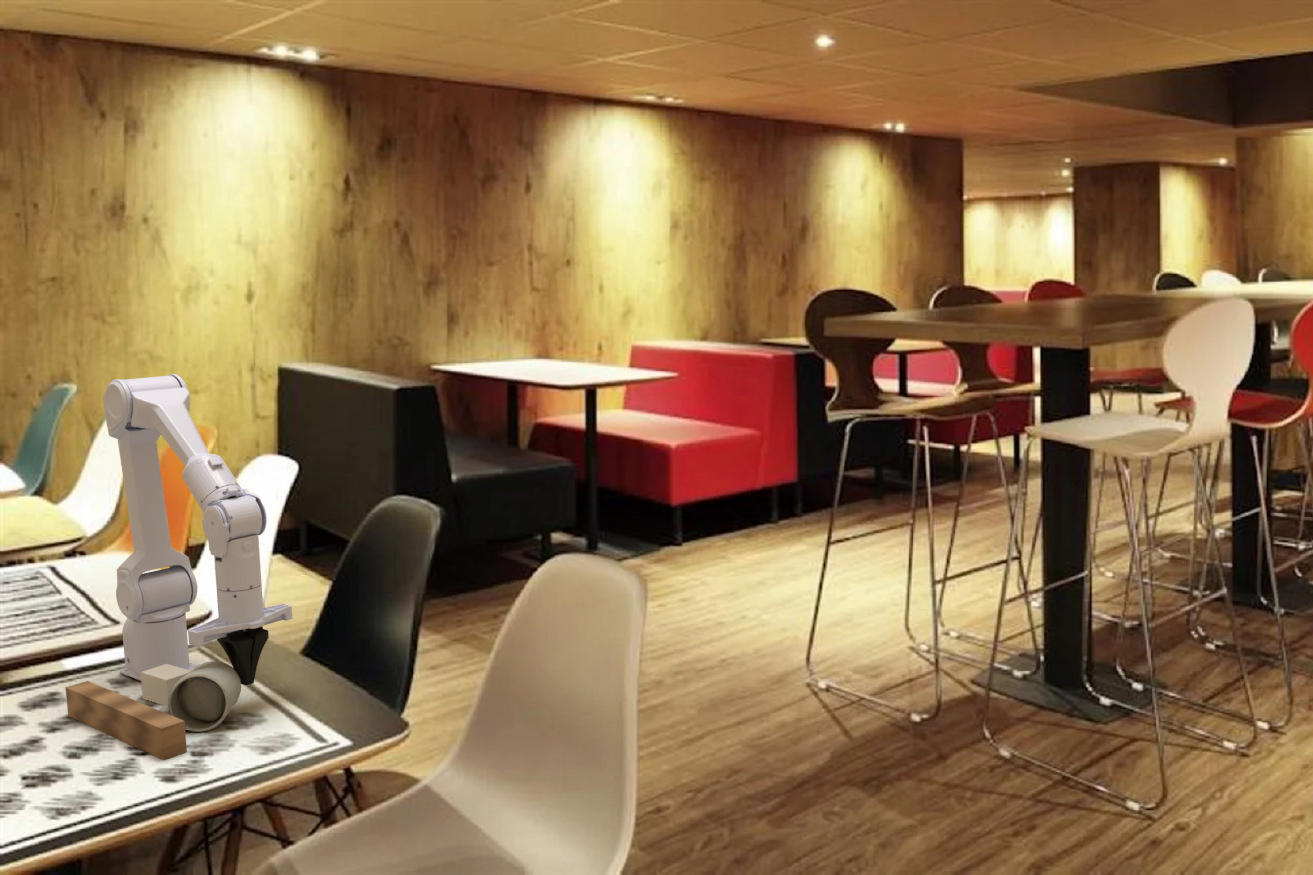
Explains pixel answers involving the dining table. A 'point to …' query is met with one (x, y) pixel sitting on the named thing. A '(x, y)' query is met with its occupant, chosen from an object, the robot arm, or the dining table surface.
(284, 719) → the dining table surface
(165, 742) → the walnut rail
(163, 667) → the beige rectangular block
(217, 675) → the ceramic mug
